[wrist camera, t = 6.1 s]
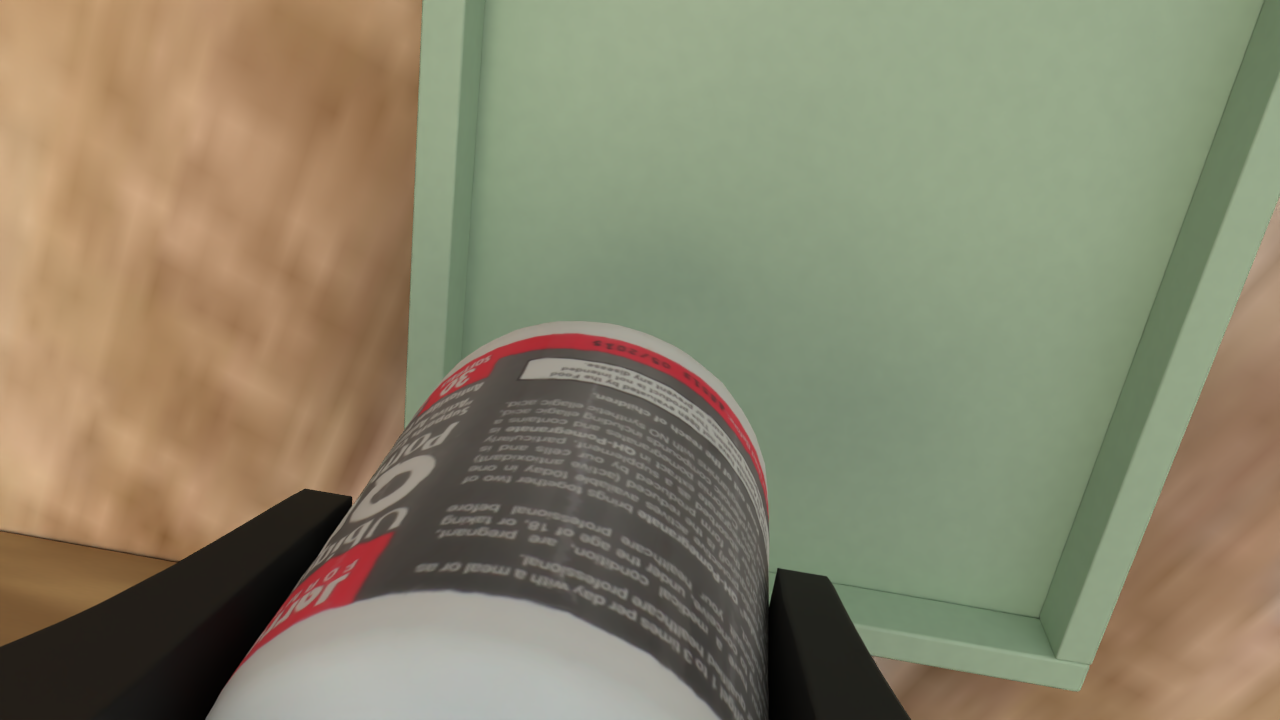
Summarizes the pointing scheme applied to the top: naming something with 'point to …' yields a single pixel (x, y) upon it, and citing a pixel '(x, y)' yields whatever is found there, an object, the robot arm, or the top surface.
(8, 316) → the top surface
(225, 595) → the robot arm
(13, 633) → the open wooden box
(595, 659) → the pill bottle
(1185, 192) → the tray
